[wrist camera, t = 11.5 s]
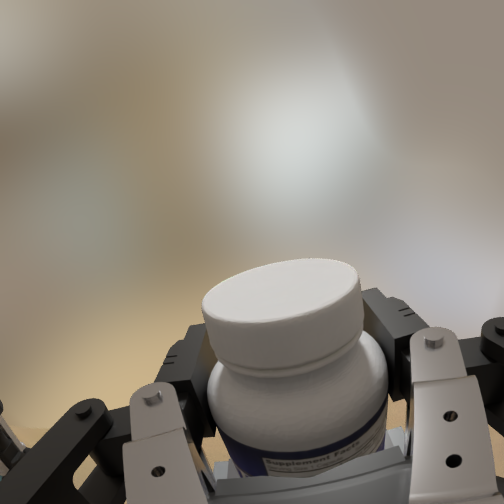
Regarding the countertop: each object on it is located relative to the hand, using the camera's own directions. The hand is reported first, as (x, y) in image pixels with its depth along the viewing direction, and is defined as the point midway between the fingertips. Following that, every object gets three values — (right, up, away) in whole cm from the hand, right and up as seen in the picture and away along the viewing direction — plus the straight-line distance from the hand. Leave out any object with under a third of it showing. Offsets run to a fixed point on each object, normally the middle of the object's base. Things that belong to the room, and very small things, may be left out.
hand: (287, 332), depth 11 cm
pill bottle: (+1, -7, -1) cm, 7 cm away
